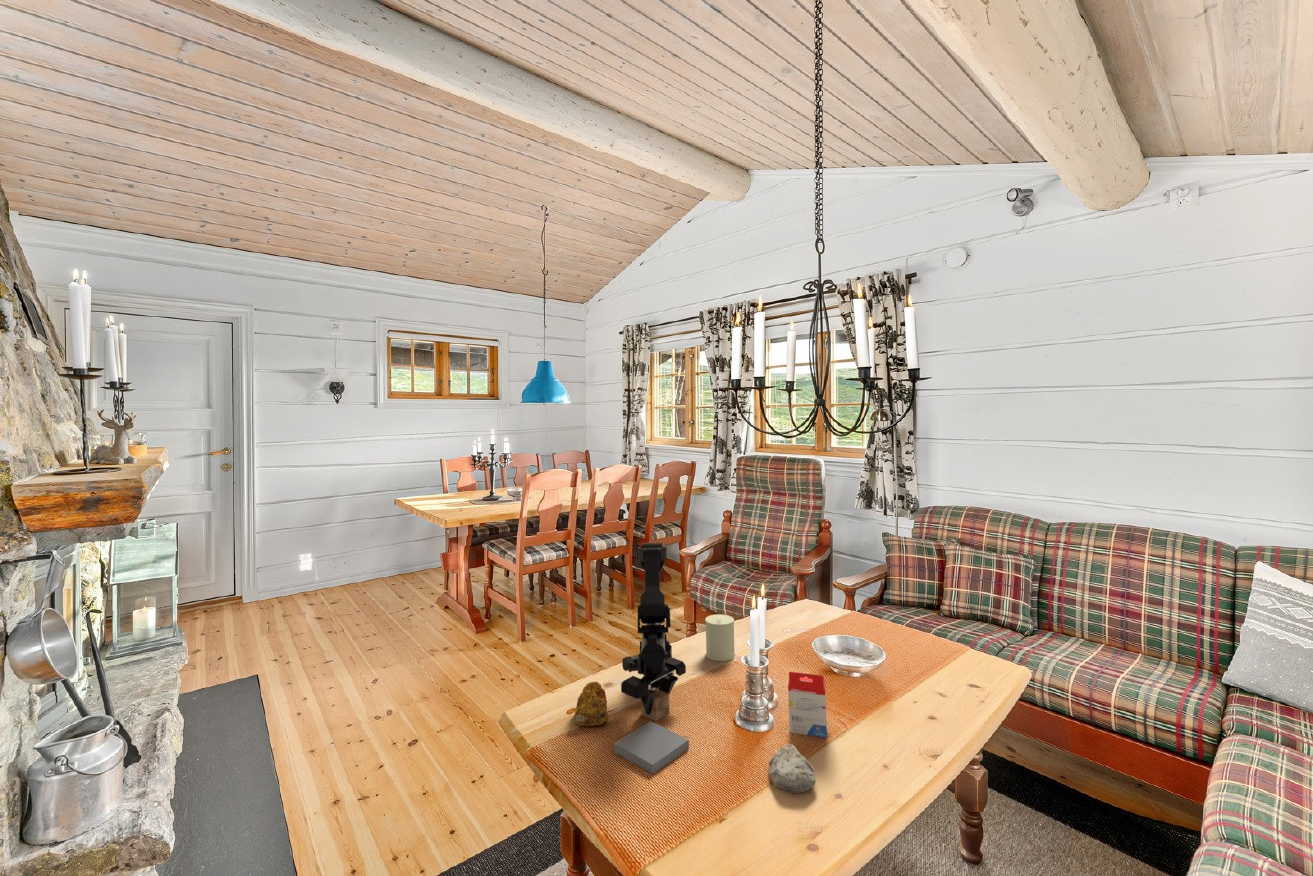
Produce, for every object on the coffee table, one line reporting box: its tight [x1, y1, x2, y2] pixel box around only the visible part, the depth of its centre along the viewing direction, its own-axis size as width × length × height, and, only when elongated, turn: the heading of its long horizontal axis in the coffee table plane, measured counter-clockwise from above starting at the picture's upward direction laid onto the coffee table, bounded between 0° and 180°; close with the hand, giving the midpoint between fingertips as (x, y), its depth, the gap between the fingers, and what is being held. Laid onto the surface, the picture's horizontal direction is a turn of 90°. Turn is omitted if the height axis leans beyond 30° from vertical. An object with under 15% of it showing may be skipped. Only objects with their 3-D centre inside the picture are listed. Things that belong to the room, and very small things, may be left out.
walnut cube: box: [640, 687, 670, 722], centre depth 140 cm, size 5×5×5 cm
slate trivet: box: [613, 720, 690, 775], centre depth 124 cm, size 12×12×2 cm
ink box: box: [787, 671, 828, 739], centre depth 131 cm, size 8×5×15 cm, turn 71°
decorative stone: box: [768, 743, 817, 794], centre depth 114 cm, size 12×11×5 cm
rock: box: [573, 681, 609, 727], centre depth 139 cm, size 11×8×10 cm
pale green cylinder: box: [705, 614, 736, 662], centre depth 174 cm, size 9×9×12 cm
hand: (655, 709), depth 140 cm, fingers closed on walnut cube, 5 cm apart
